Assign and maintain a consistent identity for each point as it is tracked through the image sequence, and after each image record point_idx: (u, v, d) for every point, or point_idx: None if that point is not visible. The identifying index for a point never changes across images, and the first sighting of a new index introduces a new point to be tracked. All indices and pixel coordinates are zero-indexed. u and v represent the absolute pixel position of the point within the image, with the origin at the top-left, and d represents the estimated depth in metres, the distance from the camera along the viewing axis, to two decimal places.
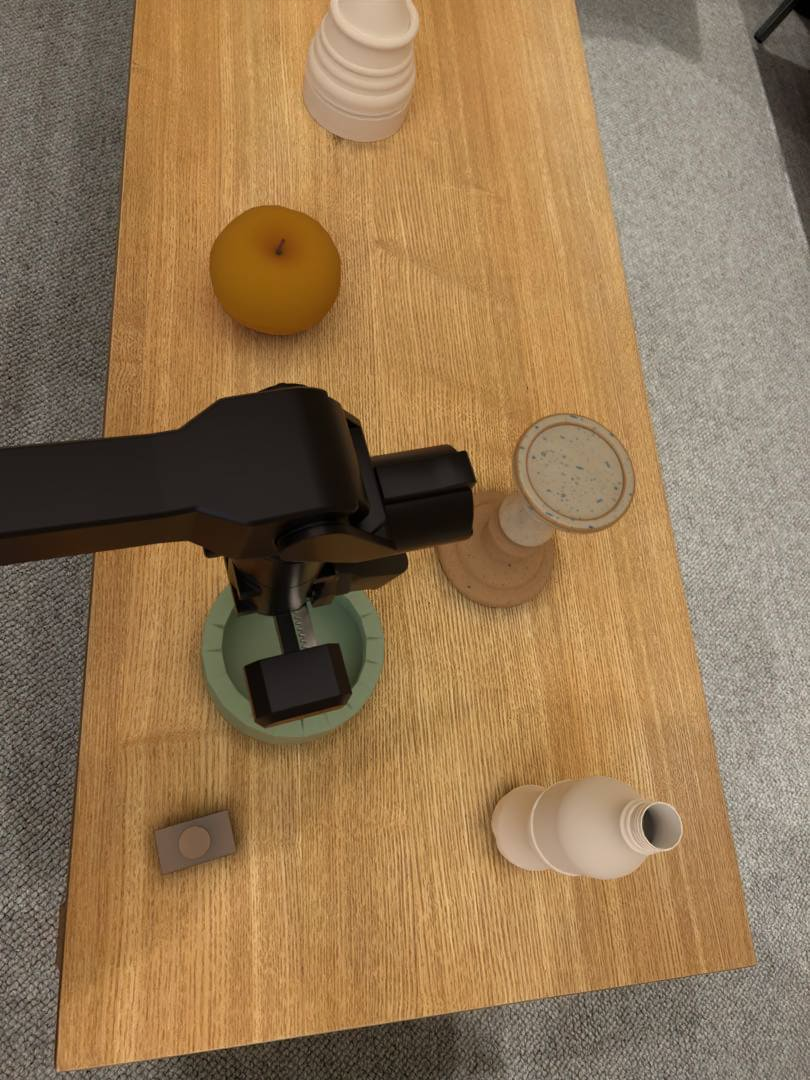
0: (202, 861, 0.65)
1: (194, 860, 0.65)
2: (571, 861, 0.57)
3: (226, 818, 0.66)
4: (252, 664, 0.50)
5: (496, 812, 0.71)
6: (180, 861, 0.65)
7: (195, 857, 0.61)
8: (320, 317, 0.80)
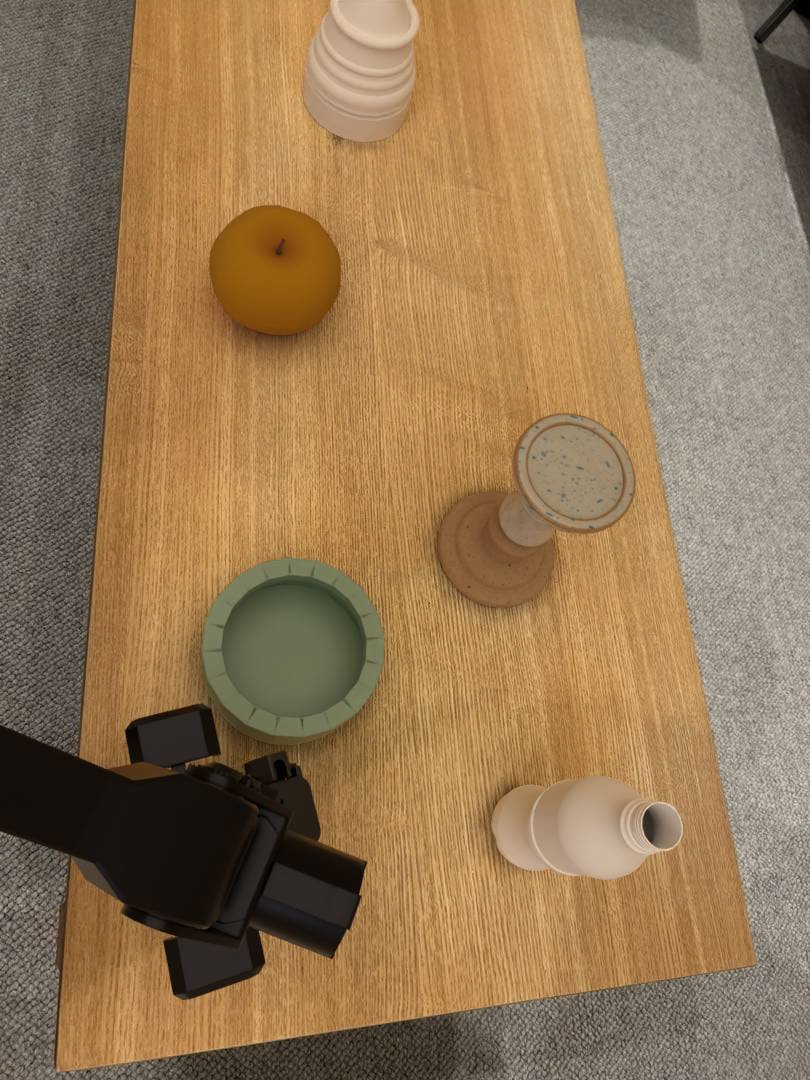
0: None
1: None
2: (571, 861, 0.57)
3: None
4: (170, 941, 0.54)
5: (496, 812, 0.71)
6: None
7: None
8: (320, 317, 0.80)
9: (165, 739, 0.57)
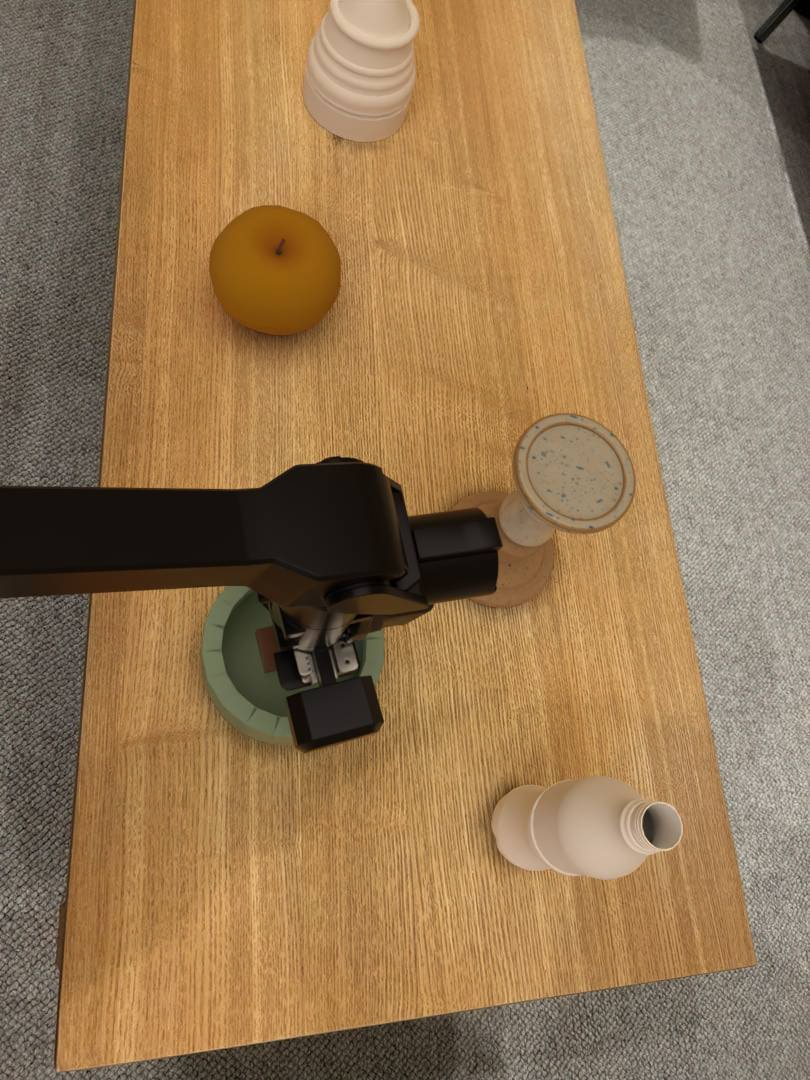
0: None
1: None
2: (571, 861, 0.57)
3: None
4: (294, 695, 0.55)
5: (496, 812, 0.71)
6: None
7: None
8: (320, 317, 0.80)
9: None
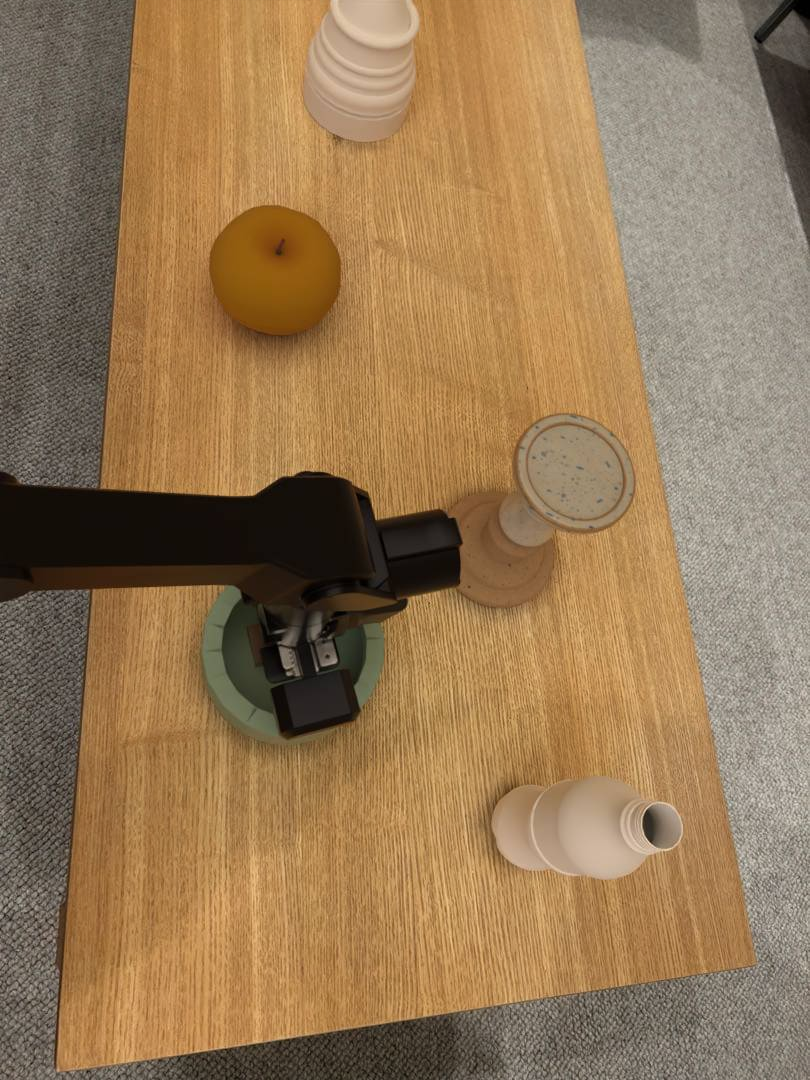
0: None
1: None
2: (571, 861, 0.57)
3: None
4: (277, 687, 0.60)
5: (496, 812, 0.71)
6: None
7: None
8: (320, 317, 0.80)
9: None
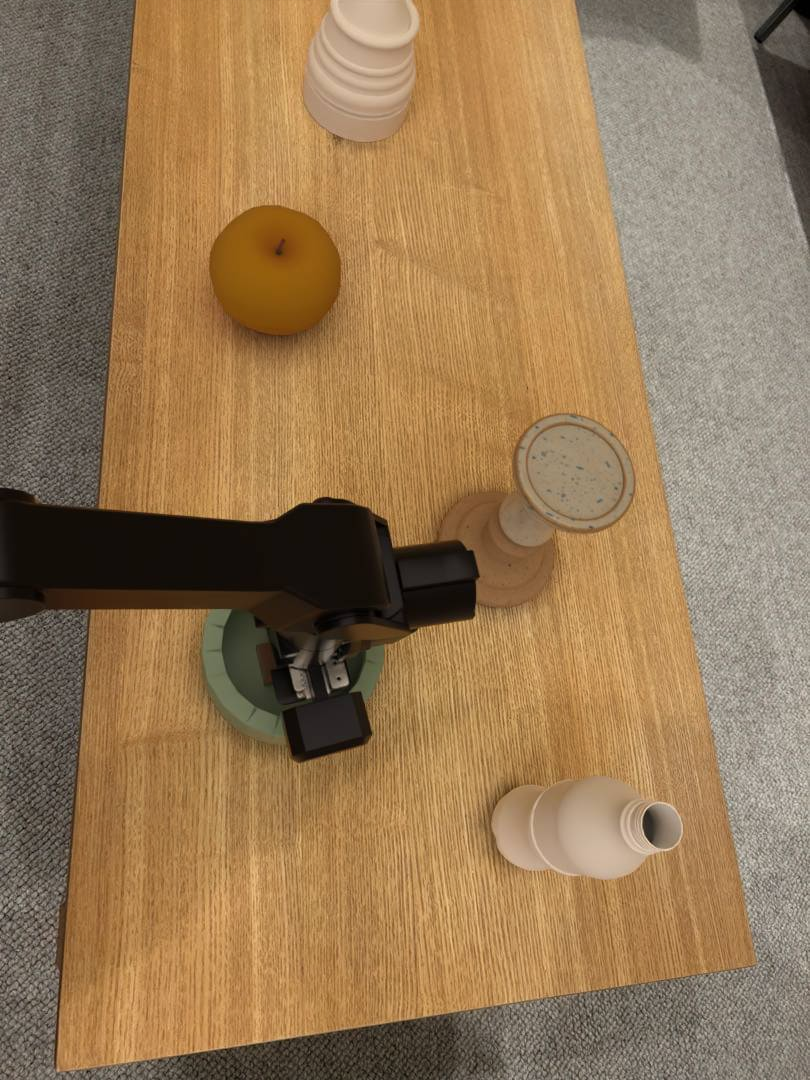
0: None
1: None
2: (571, 861, 0.57)
3: None
4: (289, 710, 0.59)
5: (496, 812, 0.71)
6: None
7: None
8: (320, 317, 0.80)
9: None
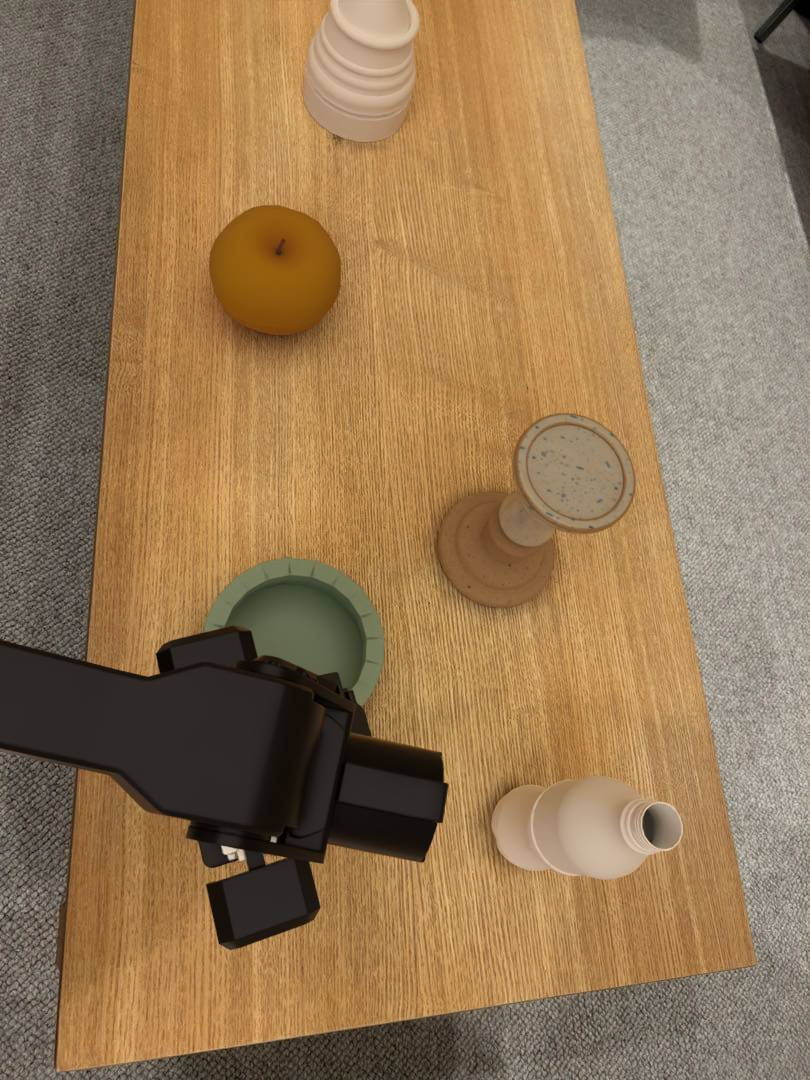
0: None
1: None
2: (571, 861, 0.57)
3: None
4: (214, 884, 0.47)
5: (496, 812, 0.71)
6: None
7: None
8: (320, 317, 0.80)
9: None
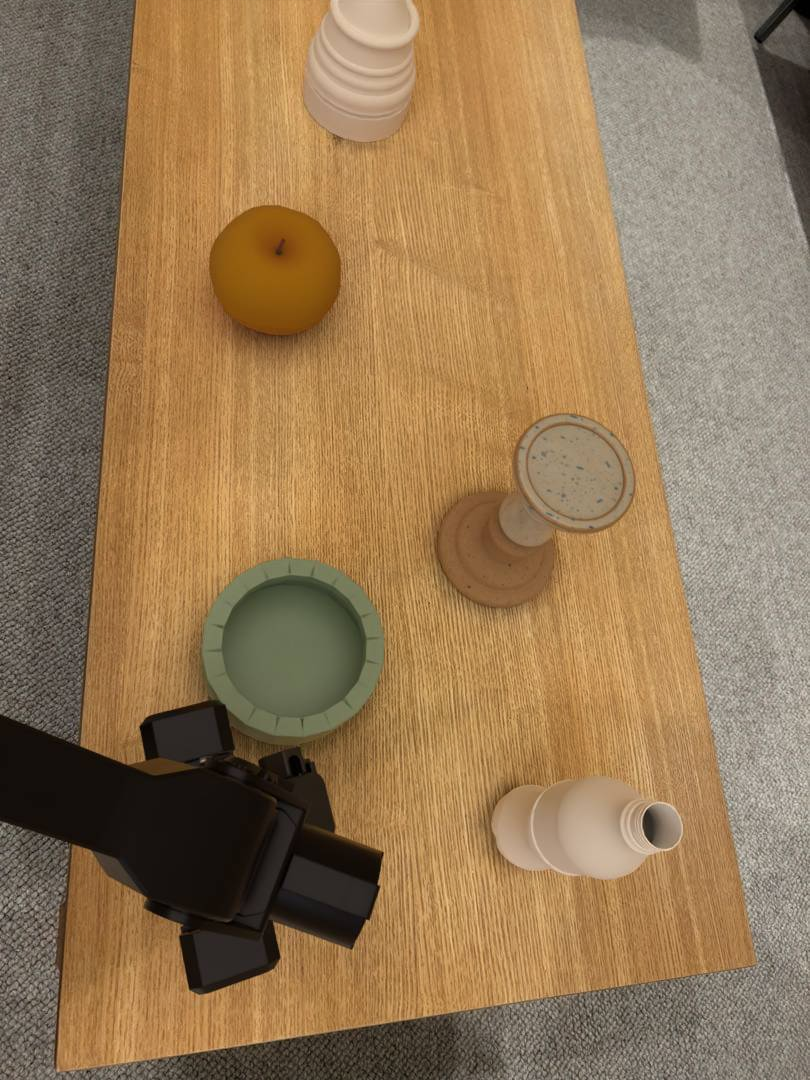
0: None
1: None
2: (571, 861, 0.57)
3: None
4: (186, 936, 0.54)
5: (496, 812, 0.71)
6: None
7: None
8: (320, 317, 0.80)
9: (180, 735, 0.57)
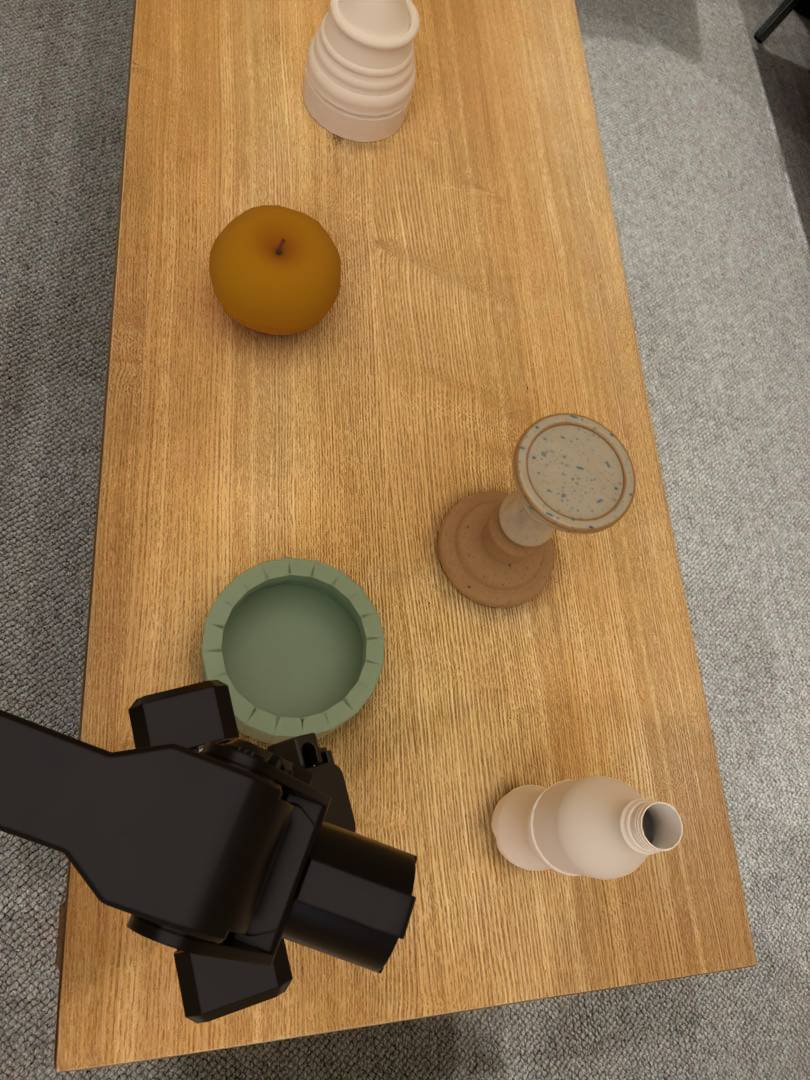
0: None
1: None
2: (571, 861, 0.57)
3: None
4: (182, 954, 0.46)
5: (496, 812, 0.71)
6: None
7: None
8: (320, 317, 0.80)
9: (175, 720, 0.49)
